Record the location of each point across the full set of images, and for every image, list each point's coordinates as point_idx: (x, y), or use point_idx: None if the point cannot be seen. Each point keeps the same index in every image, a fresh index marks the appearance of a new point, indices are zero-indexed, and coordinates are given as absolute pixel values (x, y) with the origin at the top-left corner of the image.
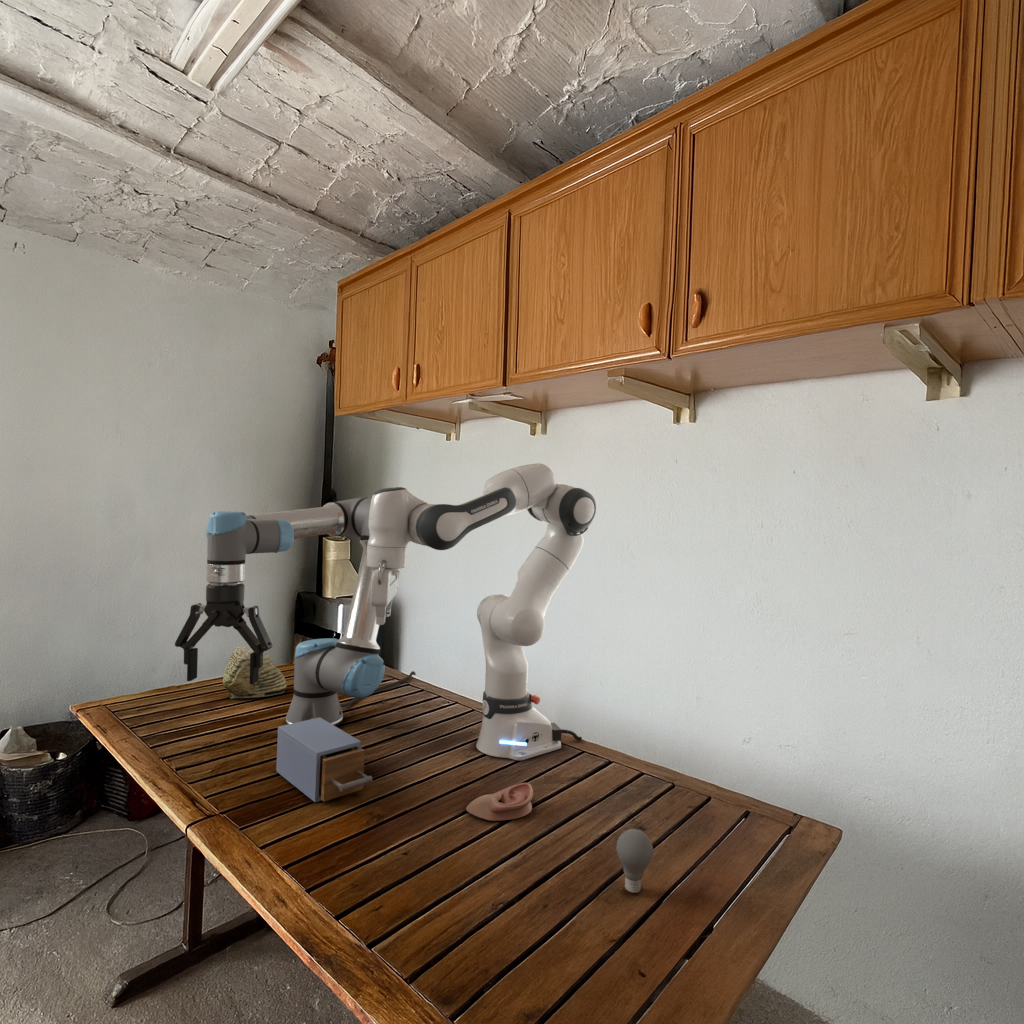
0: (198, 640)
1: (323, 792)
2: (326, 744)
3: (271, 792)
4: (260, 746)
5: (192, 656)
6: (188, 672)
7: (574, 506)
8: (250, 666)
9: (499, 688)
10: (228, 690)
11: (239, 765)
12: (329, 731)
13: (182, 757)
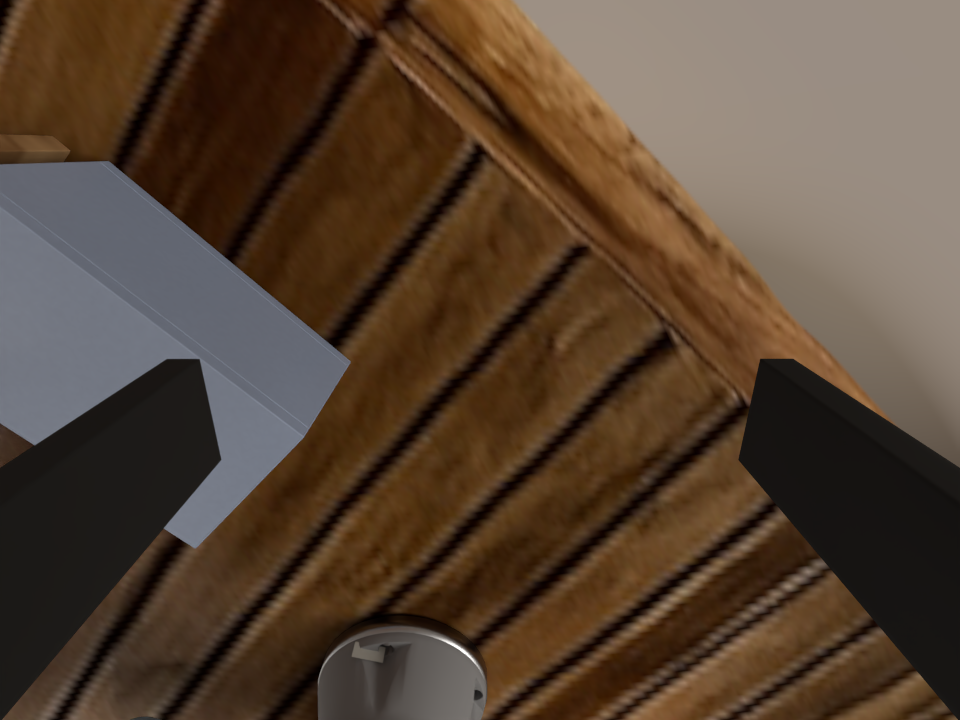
0: None
1: (31, 138)
2: None
3: (288, 216)
4: (485, 516)
5: (938, 534)
6: (831, 394)
7: None
8: (72, 445)
9: None
10: None
11: (485, 388)
12: (61, 416)
13: (687, 419)
